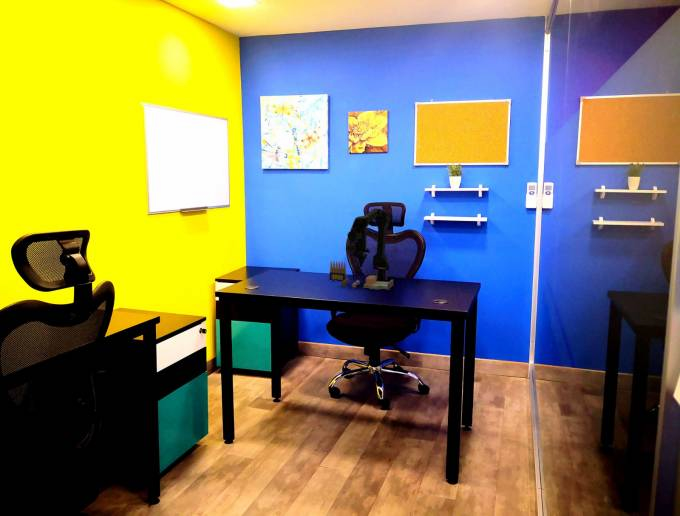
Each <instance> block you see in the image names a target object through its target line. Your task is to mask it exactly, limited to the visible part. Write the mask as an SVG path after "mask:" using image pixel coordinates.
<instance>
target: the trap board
mask: <svg viewBox="0 0 680 516" xmlns="http://www.w3.org/2000/svg"><path fill="white" fill-rule="evenodd" d="M348 283H349V284H350V278H347V277H346V279H345V280H344V281H342V282H341V288H345V287H346V286H347V285H349V284H348ZM360 283H361V280H358V279H357V280H356V281H354V282H353V283H352V284H351V288H352V287H354V288H353V289H355V288H357V287H358V286H359V285H361V284H360ZM346 284H347V285H346ZM358 284H359V285H358ZM345 285H346V286H345ZM357 285H358V286H357ZM344 286H345V287H344ZM356 286H357V287H356ZM392 286H393V287H394V279H390V280H389V281H381V280H376V283H375V284H373V285H366V282H365V283H364V284H363V288H369V289H368V290H381V289H386V290H385V291H390V290H391V289H392V288H391V287H392ZM390 288H391V289H390Z"/></svg>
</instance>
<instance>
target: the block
mask: <svg viewBox="0 0 680 516" xmlns="http://www.w3.org/2000/svg"><path fill="white" fill-rule="evenodd" d="M376 278H377V275H368V276H366V278H365V283H366V285H373V284H375V283H376V281H377V280H376Z"/></svg>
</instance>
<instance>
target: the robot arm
mask: <svg viewBox="0 0 680 516" xmlns="http://www.w3.org/2000/svg"><path fill="white" fill-rule="evenodd" d="M373 220H375V225H376V227H377V229H378V230H377V239H376V240H377V241H376V253H375V254H374V255H372V267H373V270H376V276H377V277H376V281H387V280H388V277H387V271H390V268H391V266H390V263H389V262H388V257H387V254H386V239H387V229H388V227H389V226H390V222H391V216H390V215H389V214H388V212H385V211H384V210H383V209H382V208H372V210H370V211H369V212H367V213H365V214H364V215H361V216H360V215H359V216H357V217H355V218H354V220H353V222H352V226H351V228H350V231H348V232H347V235H346V237H347V239H348V241H350V242H354V243H353V244H352V245H351V244H347V245H346V247H345V251H347V253H350V252H352V253H351V256H352V257H355V258H356V259H357V262H358V264H359V268H363V266H364V263H365V262H366V259H367V258H368V254H370V251H371V250H370V248H369V247H367V244H368V241H367V232H369V229H368V227H369V226H370V223H371V222H372V221H373ZM366 253H367V254H366Z"/></svg>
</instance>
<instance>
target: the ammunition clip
mask: <svg viewBox="0 0 680 516" xmlns="http://www.w3.org/2000/svg"><path fill="white" fill-rule="evenodd" d="M346 266H347V265H346V262H345V261H336V260H335V261H332V260H330V266H329V278H328V279H329V280H337V281H336V282H338V281H344V280H345V279H347V267H346ZM329 280H328V281H329Z"/></svg>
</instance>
